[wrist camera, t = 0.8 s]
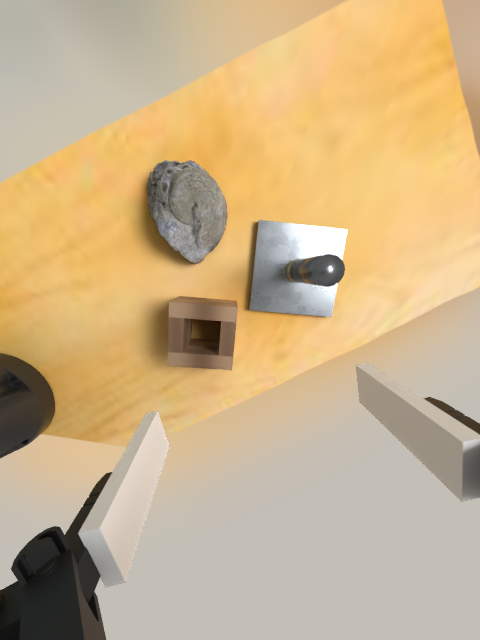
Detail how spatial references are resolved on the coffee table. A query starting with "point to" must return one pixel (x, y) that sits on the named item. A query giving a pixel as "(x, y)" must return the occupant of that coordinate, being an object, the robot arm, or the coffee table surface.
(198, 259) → the fossilized seashell
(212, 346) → the collar
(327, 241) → the knob on metal plate
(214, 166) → the coffee table surface
